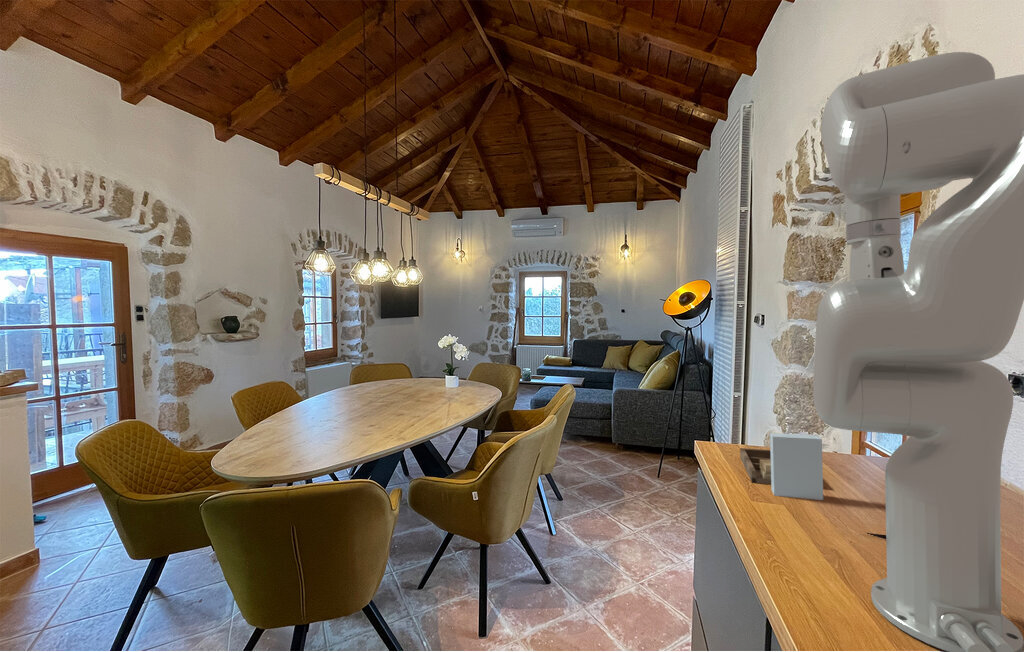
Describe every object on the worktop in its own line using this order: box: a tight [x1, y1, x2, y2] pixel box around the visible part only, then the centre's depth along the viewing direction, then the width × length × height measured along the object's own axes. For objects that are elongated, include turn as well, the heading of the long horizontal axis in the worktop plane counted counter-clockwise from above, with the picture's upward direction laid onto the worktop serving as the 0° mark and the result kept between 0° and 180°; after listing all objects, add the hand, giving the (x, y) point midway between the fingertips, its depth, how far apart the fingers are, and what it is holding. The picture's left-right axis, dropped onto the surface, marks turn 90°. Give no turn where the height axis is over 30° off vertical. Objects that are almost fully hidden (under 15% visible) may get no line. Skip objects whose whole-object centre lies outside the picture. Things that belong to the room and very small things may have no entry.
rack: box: [739, 447, 771, 485], centre depth 93 cm, size 15×12×4 cm
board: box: [769, 432, 824, 501], centre depth 82 cm, size 2×8×12 cm, turn 69°
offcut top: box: [760, 459, 771, 474], centre depth 89 cm, size 4×6×2 cm, turn 78°
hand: (874, 327), depth 77 cm, fingers open, 9 cm apart
